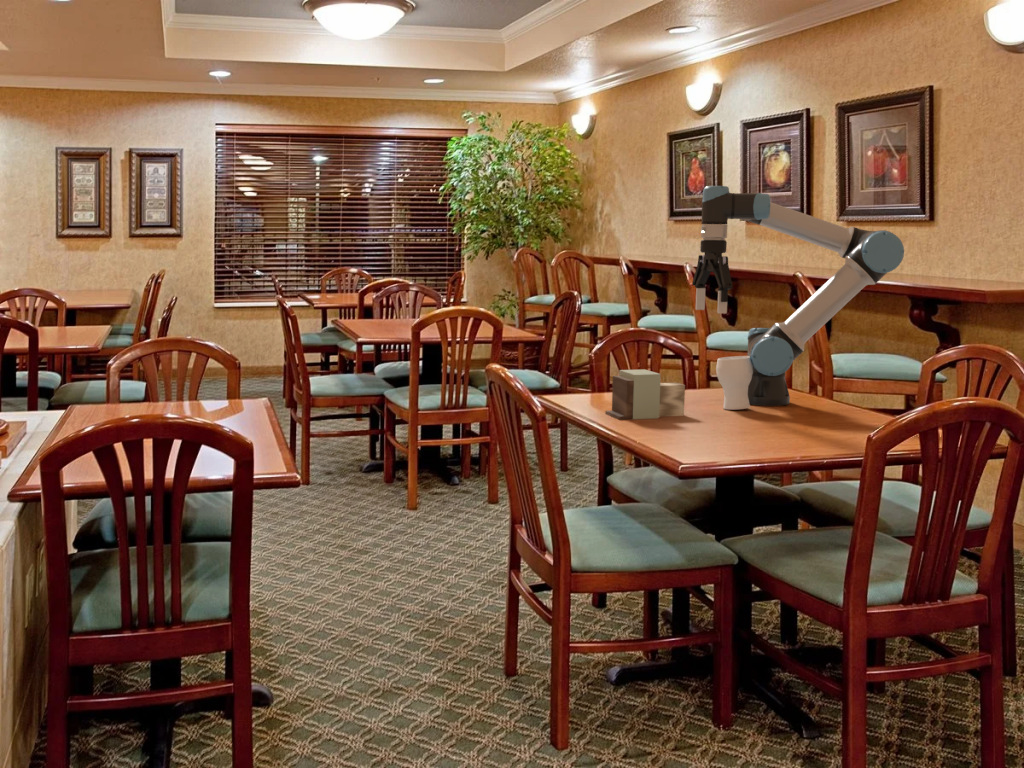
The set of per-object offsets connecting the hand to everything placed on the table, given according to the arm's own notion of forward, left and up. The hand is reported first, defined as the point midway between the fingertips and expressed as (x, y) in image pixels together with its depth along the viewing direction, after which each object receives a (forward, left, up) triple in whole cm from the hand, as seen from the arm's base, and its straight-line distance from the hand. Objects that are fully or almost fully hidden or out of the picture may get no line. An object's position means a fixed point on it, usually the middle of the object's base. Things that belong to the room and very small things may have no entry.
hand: (710, 311), depth 315 cm
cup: (-7, +6, -28) cm, 30 cm away
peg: (+21, +10, -29) cm, 37 cm away
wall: (+32, +10, -29) cm, 44 cm away
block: (+27, +10, -29) cm, 41 cm away
